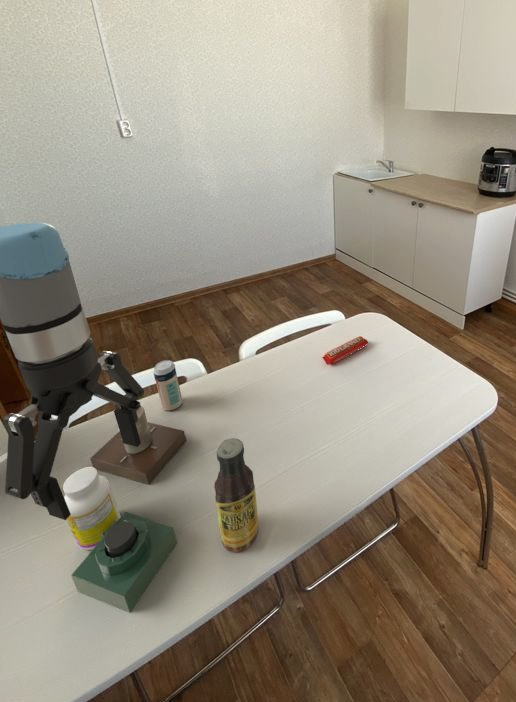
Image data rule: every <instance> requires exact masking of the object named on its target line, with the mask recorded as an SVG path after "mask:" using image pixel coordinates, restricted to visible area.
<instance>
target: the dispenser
mask: <svg viewBox="0 0 516 702" xmlns="http://www.w3.org/2000/svg"><path fill="white" fill-rule="evenodd" d="M120 516H121V518H120V519H119V520H118V521H117V522H116V523H115V525H114V526H116V525H117V524H119V523H121V522H126V521H128V522H131V523H132V524H133V525H134V528H135V531H136V534H137V539H136V542H135V544H134V545H133V547H132V548H131V549H130V550H129V551H128V552H126V553H125V554H123V555H121V556H118V557H112V556H110V555H109V554H108V552H107V549H106V546H105V543H104V541H105V537H106V535H107V534H106V535H105V536H104V537H103V538H102V539H101V541H100V542H99V543H98V544H97V546H96V547H95V548H94V549H92V550H90V551H91V552H90V553H89V554H88V555H87V556H85V558H84V560H83V561H82V562H81V563H80V564H79V565H78V567H77V568H76V569H75V570H74V571H73V572H72V573H71V575H70V576H71V579H72V582H73V583H74V586H75V588H76V590H77V592H78V593H80V594H82V595H85V596H86V597H89V598H92V599H94V600H97V601H99V602H102V603H104V604H107V605H109V606H112V607H115V608H117V609H119V610H122V611H125V612H127V613H131V612H132V611H133V609H134V608H135V606H136V605H137V603H138V602H139V601H140V599H141V597H142V596H143V595H144V593H145V592H146V590H147V589H148V588H149V586H150V584H151V583H152V581H153V580H154V579H155V577H156V576H157V574H158V573H159V571H160V570H161V568H162V567H163V565H164V563H165V562H166V561H167V559H168V558H169V557H170V555H171V553H172V552H173V550H174V549H175V547H176V546H177V545H178V540H177V539H178V538H177V536H176V532H175V527H174V526H171V525H168V524H165V523H162V522H159V521H155V520H152V519H149V518H146V517H143V516H140V515H137V514H133V513H131V512H128V511H127V512H126V511H125V512H124V513H122V515H120ZM114 526H113V527H114ZM113 527H112V528H113ZM112 528H111V529H112ZM111 529H110V530H111ZM110 530H109V531H110ZM109 531H108V532H109ZM108 532H107V533H108Z"/></svg>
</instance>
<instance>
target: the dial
mask: <svg viewBox="0 0 516 702" xmlns="http://www.w3.org/2000/svg"><path fill="white" fill-rule="evenodd" d="M136 412H137V416H138V422H136V423H135V424H136V427H137V431H138V434H139V438H140V441H141V444H140V445H139V446H138V447H135V446H131V445H128V444H124V447H125V450H126V452H128V453H130V454H134V453H138V452H141V451H143V450H144V449H146V448H147V447H148V446H149V445H150V444H151V442H152V436H151V433H150V429H149V425H148V422H149V421H148V418H147V414H146V409H145V407H144V406H142V405H141V404H140V406H139V408H138V409H136Z"/></svg>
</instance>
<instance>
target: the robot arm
mask: <svg viewBox="0 0 516 702" xmlns="http://www.w3.org/2000/svg"><path fill="white" fill-rule="evenodd" d="M81 301H82V300H81V298H80V294H79V291H78V287H77V284H76V280H75V277H74V273H73V269H72V265H71V262H70V256H69V252H68V250H67V249H66V248H65V247H64V243H63V240H62V238H61V235H60V233H59V231H58V229H57V228H56V227H55V226H53V225H51V224H49V223H47V222H46V223H45V222H32V223H27V222H21V223H15V224H7V225H3V226H0V322H1V325H2V328H3V330H4V332H5V334H6V337H7V339H8V343H9V345H10V347H11V350H12V353H13V355H14V358H15V359H17V366H18V369H19V371H20V373H21V377H22V379H23V381H24V384H25V386H26V388H27V389H28V391H29V393H30V401H29V405H28V406H27V407H25V408H24V409H22V410H20V411H19V412H18V413H15V412H14V413H13V412H11V413H8V414H7V415H5V416H4V418H3V419H2V421H3V424H4V427H5V429H6V432H7V434H8V436H7V451H6V452H7V453H6V469H5V470H6V471H5V472H6V473H5V488H4V492H5V494H6V495H7V496H11V497H14V498H17V499H20V500H26V499H27V498H29V497H30V495H31V498H32V500H33V502H34V504H35V505H37V506H40V507H42V508H45V509H46V510H47V512H48V515H49V516H52V517H55V518H58V519H60V520H64V521H67V518H68V517H69V516H70V515H71V514H70V511H69V509H68V506H67V504H66V501H65V499H64V496H65V495H64V493H63V491H62V489H61V486H60V484H59V481H58V478H56V477H54V476H51V474H52V470H53V467H54V464H55V463H54V462H55V459H56V455H57V452H58V449H59V445H60V441H61V437H62V434H63V431H64V429H65V428H67V426H68V425H69V420H70V417H71V416H73V415H74V414H75V413H76V412H77V411H79V409H80V408H81V407H83V406H85V405H86V404H89V403H90V402H91V401H92V400H93V397H96V398H98V399H101V400H104V401H106V402H109V403H111V404H113V405H115V406H118V407H117V408H115V409H114V410H113V414H114V416H115V420H116V424H117V427H118V430H119V431H120V434H121V437H122V440H123V443H124V444H128V445H131V446H135V447H138V446H139V445H140V444H141V441H140V438H139V434H138V431H137V427H136V424H135V423H136V422H138V416H137V412H136V409H138V408H139V406H140V405H141V401H139V400H138V398H142V397H143V396H144V395H145V389H144V388H143V386H141V385H140V383H139V382H138V381H137V380H136V379H135V378H134V376H133V375H132V374H131V373H130V372H129V371H128V370H127V368H126V367H125V365H123V361H122V359H121V355H120V353H118V352H113V351H107V350H102V351H101V352H100V353H99V355H98V354H97V350H96V347H95V343H94V341H93V338H92V337H91V329H90V326H89V323H88V320H87V317H86V314H85V310H84V308H83V306H82V303H81ZM102 370H103V371H104V372H105V373H106V375H108V376H109V377H110V378H111V380H113V381H114V382H115V383H116V385H117V386H118V387H119V388H120V389H121V390H122V391H123V392H124V394H122V393H120V392H117V391H116V390H114V389H111V388H110V387H108V386H105V385H104V384H101V383H100V382H99V380H100V378H101V373H102ZM38 414H39V415H38ZM37 415H38V418H37V420H36V416H37ZM52 416H55V417H57V418H53V417H52ZM36 426H38V429H37V434H36V433H35V427H36Z"/></svg>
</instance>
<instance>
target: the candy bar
mask: <svg viewBox="0 0 516 702" xmlns="http://www.w3.org/2000/svg"><path fill="white" fill-rule="evenodd" d="M368 342H369V340H368V339H366V338H364V337H363V336H361V335H360V336H357V337H355V338H352V339H350V340H348V341H346V342H344V343H342V344H341V345H339V346H337V347H335V348H333V349H331V350H329V351H327V352H326V353H325V354H324V355H323V356H321V358H322V359H323V361H324V362H325V364H326V365H327V366H329V365H331V364H332V365H334V364H336V363H338V362H340V361H342V360H344V359H345V358H344V357H346V356H348V355H349V356H351V355H352V354H351V353H353V352H355V351H357V350H358V349H360V348H362V347H363V346H365V345H366V344H367V343H368ZM367 345H368V344H367ZM367 345H366V346H367ZM366 346H365V347H366ZM362 349H363V348H362ZM357 352H358V351H357ZM355 353H356V352H355ZM350 354H351V355H350ZM353 354H354V353H353ZM349 356H348V357H349ZM343 358H344V359H343ZM346 358H347V357H346ZM341 359H342V360H341ZM339 360H340V361H339ZM337 361H338V362H337ZM335 362H336V363H335ZM333 363H334V364H333ZM332 365H331V366H332Z"/></svg>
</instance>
